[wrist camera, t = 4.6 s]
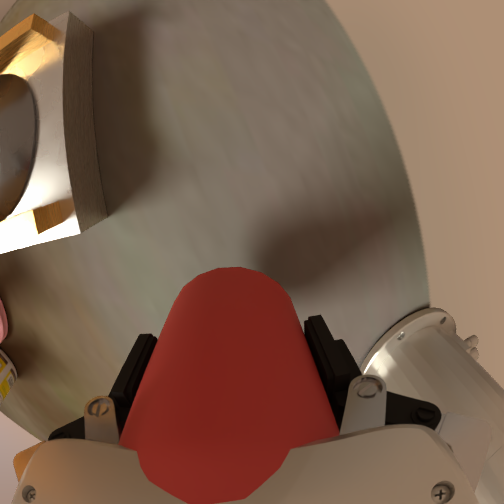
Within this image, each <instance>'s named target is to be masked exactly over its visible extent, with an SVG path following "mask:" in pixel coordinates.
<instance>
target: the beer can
mask: <svg viewBox="0 0 504 504" xmlns="http://www.w3.org/2000/svg"><path fill="white" fill-rule="evenodd" d="M339 433H340V432H339V429H338V426H337V423H336V420H335V417H334V414H333V412H332V409H331V406H330V403H329V400H328V398H327V395H326V392H325V389H324V387H323V384H322V381H321V378H320V376H319V373H318V370H317V367H316V365H315V362H314V359H313V357H312V354H311V351H310V349H309V346H308V343H307V341H306V338H305V335H304V333H303V330H302V327H301V325H300V322H299V319H298V317H297V314H296V311H295V309H294V306H293V304H292V301H291V298H290V297H289V295H288V294H287V293H286V292H285V291H284V289H283V288H282V287H281V286H280V284H279V283H278V282H276V281H274V280H273V279H271V278H269V277H268V276H266V275H265V274H263V273H261V272H258V271H254V270H250V269H246V268H242V267H229V268H217V269H214V270H211V271H208V272H206V273H203V274H200V275H198V276H197V277H196V278H194V279H193V280H192V281H190V282H189V283H188V284H187V285H185V286H184V287H183V289H182V290H181V292H180V293H179V295H178V297H177V298H176V300H175V302H174V304H173V306H172V308H171V311H170V313H169V315H168V317H167V320H166V322H165V324H164V327H163V329H162V331H161V334H160V336H159V338H158V341H157V343H156V346H155V348H154V350H153V353H152V355H151V358H150V360H149V363H148V365H147V368H146V370H145V373H144V375H143V378H142V380H141V383H140V386H139V388H138V391H137V393H136V396H135V399H134V401H133V404H132V407H131V409H130V412H129V415H128V418H127V420H126V423H125V426H124V429H123V432H122V435H121V438H120V440H119V443H118V445H122V446H123V447H126V448H129V449H132V450H134V451H137V454H138V459H139V463H140V467H141V469H142V470H143V472H144V474H145V476H146V477H147V479H148V480H149V481H150V482H152V483H153V484H155V485H156V486H158V487H159V488H161V489H162V490H164V491H166V492H167V493H169V494H171V495H172V496H174V497H176V498H178V499H180V500H182V501H184V502H186V503H187V504H216V503H223V502H230V501H236V500H242V499H245V498H247V497H248V496H249V495H250V494H252V493H253V492H254V491H255V490H256V489H258V488H259V487H260V486H261V485H262V484H263V483H264V482H266V481H267V480H268V479H269V478H270V477H271V476H272V475H273V474H274V473H275V472H276V471H277V470H278V469H279V468H280V467H281V465H282V464H283V462H284V460H285V458H286V457H287V455H288V453H289V451H290V449H293V448H296V447H299V446H301V445H304V444H307V443H310V442H313V441H316V440H320V439H325V438H330V437H334V436H339Z"/></svg>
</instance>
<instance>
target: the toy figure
mask: <svg viewBox="0 0 504 504" xmlns="http://www.w3.org/2000/svg"><path fill="white" fill-rule="evenodd" d="M7 332H8V323H7V317H6V313H5V310H4V307H3V304H2V301H1V299H0V343H1V342H2V340H3V339H5V337H6V335H7Z"/></svg>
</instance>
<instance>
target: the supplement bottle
mask: <svg viewBox="0 0 504 504" xmlns="http://www.w3.org/2000/svg"><path fill="white" fill-rule="evenodd" d="M16 379H17V373H16V369H15V367H14V365H13V363H12V362H11V360H10V359H9V358H8V356H7V355H6V354H5V353H4V352H3V351H2V350H1V349H0V405H1V403H2V402H3V400H4V398H5V397H6V395H7V393H8V392H9V390H10V389H11V387H12V386H13V384H14V383H15V381H16Z"/></svg>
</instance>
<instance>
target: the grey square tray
mask: <svg viewBox="0 0 504 504" xmlns="http://www.w3.org/2000/svg"><path fill="white" fill-rule="evenodd" d="M93 34H94V32H93V31H92V30H91V29H90V28H88V27H87V26H86V25H85V24H84V23H83V22H82V21H81V20H79V19H78V18H77V17H76V16H75V15H74V14H72V13H71V12H70V11H68V12H66V13H64V14H62V15H60V16H58V17H57V18H55V19H53V20H51V21H49V22H47V21H45V20H44V19H42V18H40V17H39V16H37V15H36V14H32V15H31V16H29V17H28V18H26V19H25V20H23V21H22V22H20V23H19V24H17V25H16V26H15V27H13V28H12V29H10V30H9V31H8V32H6V33H5V34H4V35H3V36H1V37H0V254H1V253H4V252H8V251H11V250H15V249H19V248H22V247H26V246H30V245H34V244H38V243H42V242H46V241H50V240H54V239H58V238H62V237H67V236H71V235H75V234H80V233H82V232H84V231H85V230H87V229H89V228H90V227H92V226H94V225H95V224H97V223H99V222H101V221H102V220H104V219H106V218H108V215H107V210H106V205H105V200H104V195H103V189H102V183H101V177H100V170H99V163H98V156H97V148H96V139H95V128H94V115H93V96H92V52H93Z"/></svg>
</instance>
